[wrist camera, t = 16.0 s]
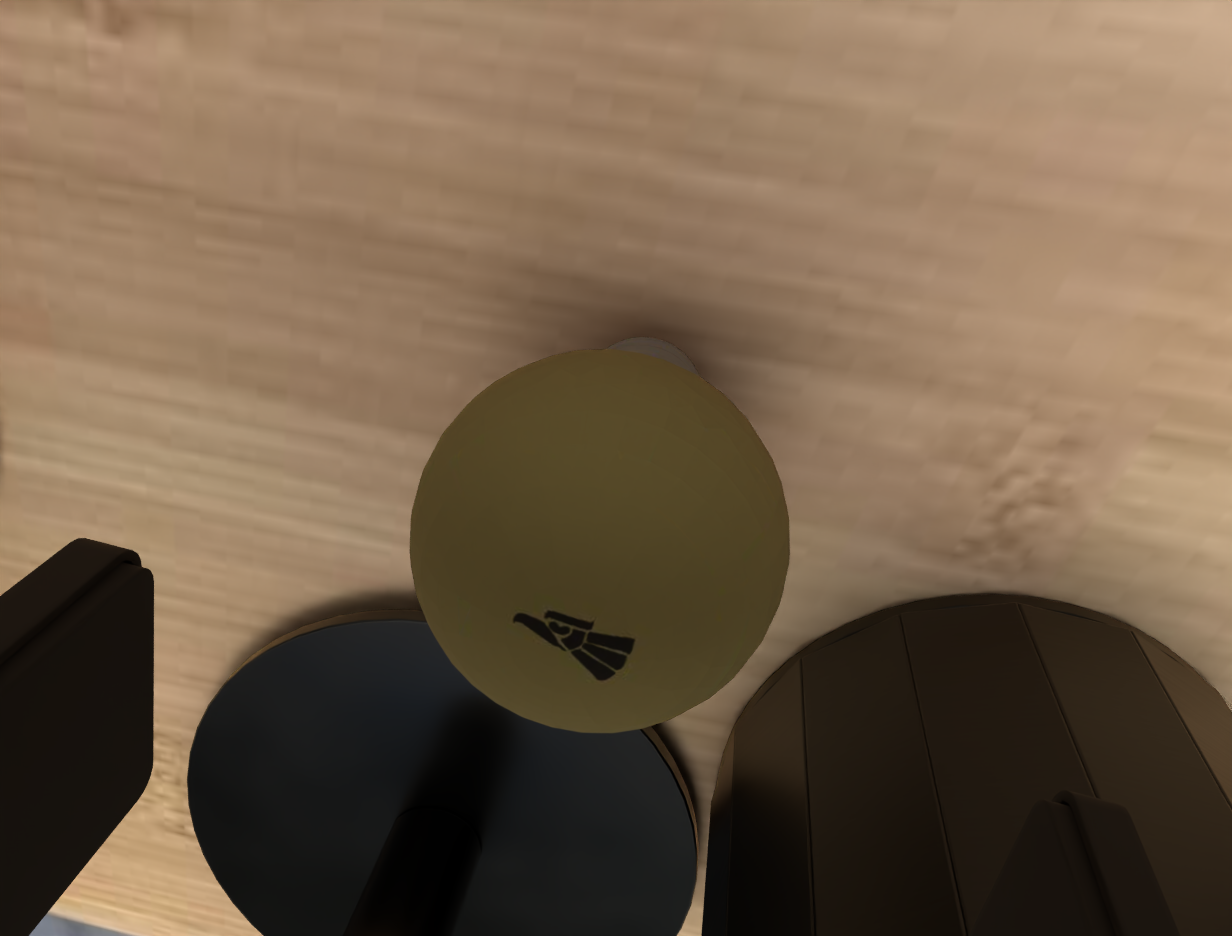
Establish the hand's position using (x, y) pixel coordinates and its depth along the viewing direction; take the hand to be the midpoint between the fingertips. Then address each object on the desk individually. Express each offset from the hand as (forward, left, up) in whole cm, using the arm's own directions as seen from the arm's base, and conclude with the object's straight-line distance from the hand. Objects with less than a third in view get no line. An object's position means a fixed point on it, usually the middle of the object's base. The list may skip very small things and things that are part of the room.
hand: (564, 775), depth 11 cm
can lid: (-3, -13, -12) cm, 18 cm away
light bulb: (0, 0, -13) cm, 13 cm away
